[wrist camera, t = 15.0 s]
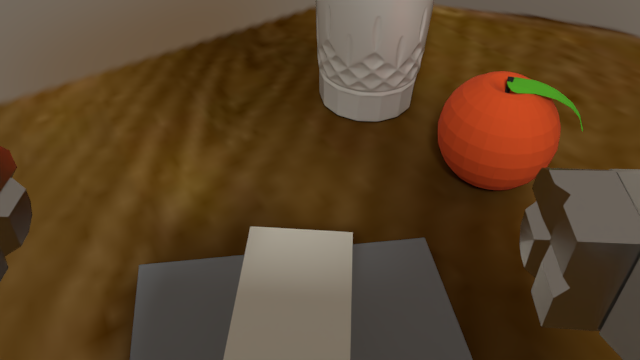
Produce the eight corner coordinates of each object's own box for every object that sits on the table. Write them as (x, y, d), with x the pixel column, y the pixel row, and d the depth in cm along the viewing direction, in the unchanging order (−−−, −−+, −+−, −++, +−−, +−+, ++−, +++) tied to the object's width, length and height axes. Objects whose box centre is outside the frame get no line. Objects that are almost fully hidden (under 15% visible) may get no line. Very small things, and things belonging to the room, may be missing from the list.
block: (254, 291, 29) (226, 455, 23) (250, 226, 26) (216, 394, 20) (347, 297, 29) (342, 463, 23) (352, 232, 26) (349, 403, 20)
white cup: (433, 85, 45) (456, -47, 39) (396, 140, 40) (416, -3, 33) (339, 60, 48) (346, -68, 41) (292, 108, 42) (292, -31, 36)
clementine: (557, 155, 39) (592, 59, 34) (563, 228, 34) (606, 126, 29) (434, 135, 40) (452, 40, 36) (423, 202, 35) (442, 100, 31)
